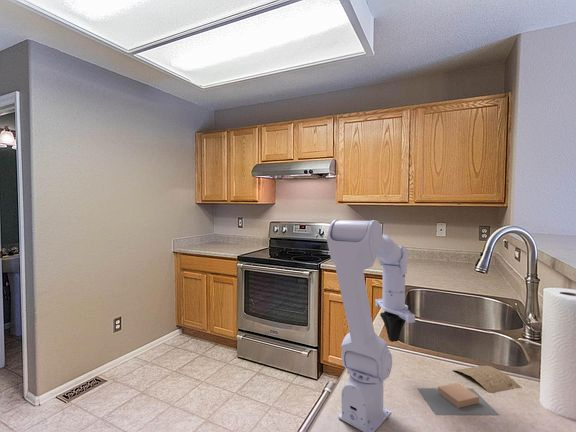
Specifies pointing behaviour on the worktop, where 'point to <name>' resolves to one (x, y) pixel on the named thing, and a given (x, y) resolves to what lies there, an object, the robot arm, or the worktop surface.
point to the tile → (458, 395)
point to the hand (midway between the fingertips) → (393, 340)
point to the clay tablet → (490, 378)
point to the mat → (447, 408)
